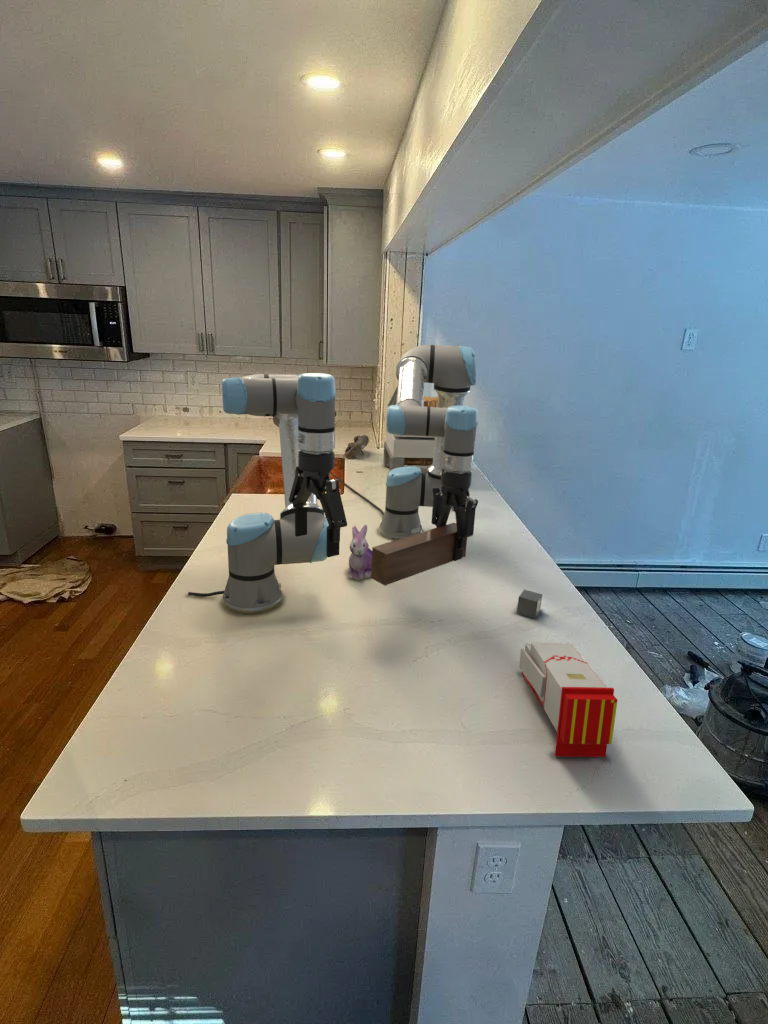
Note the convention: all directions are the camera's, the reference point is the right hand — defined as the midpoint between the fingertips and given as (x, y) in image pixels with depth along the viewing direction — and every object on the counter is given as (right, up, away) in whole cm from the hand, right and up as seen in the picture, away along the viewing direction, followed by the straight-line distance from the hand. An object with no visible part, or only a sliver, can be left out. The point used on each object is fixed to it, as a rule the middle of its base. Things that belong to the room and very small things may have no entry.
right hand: (449, 555), depth 148 cm
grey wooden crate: (0, +30, +127) cm, 130 cm away
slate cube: (+22, -15, +3) cm, 27 cm away
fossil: (-32, +42, +156) cm, 165 cm away
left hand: (-32, +4, -24) cm, 40 cm away
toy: (+18, -28, -33) cm, 47 cm away
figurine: (-24, -7, +21) cm, 32 cm away
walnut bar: (-8, -2, -6) cm, 10 cm away
